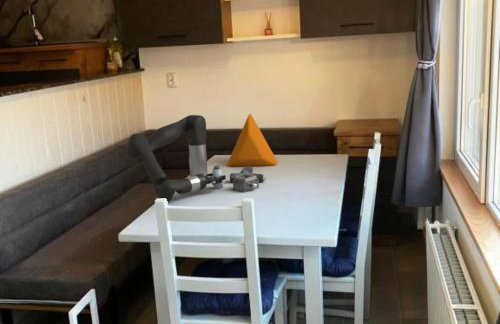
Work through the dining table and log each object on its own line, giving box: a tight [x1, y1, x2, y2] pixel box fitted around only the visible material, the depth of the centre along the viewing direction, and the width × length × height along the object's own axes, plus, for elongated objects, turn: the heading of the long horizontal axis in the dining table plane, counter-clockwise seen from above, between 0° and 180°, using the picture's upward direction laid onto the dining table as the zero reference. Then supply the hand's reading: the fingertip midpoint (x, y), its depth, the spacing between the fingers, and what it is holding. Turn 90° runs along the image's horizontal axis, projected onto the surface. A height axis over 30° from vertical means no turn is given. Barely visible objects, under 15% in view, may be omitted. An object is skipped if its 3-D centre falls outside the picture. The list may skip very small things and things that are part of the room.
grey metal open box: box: [232, 174, 260, 193], centre depth 274 cm, size 11×10×6 cm
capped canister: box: [211, 165, 224, 190], centre depth 278 cm, size 5×5×11 cm
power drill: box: [229, 166, 267, 184], centre depth 294 cm, size 5×19×20 cm
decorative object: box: [226, 113, 279, 167], centre depth 322 cm, size 30×15×30 cm, turn 82°
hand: (219, 175), depth 279 cm, fingers open, 8 cm apart
